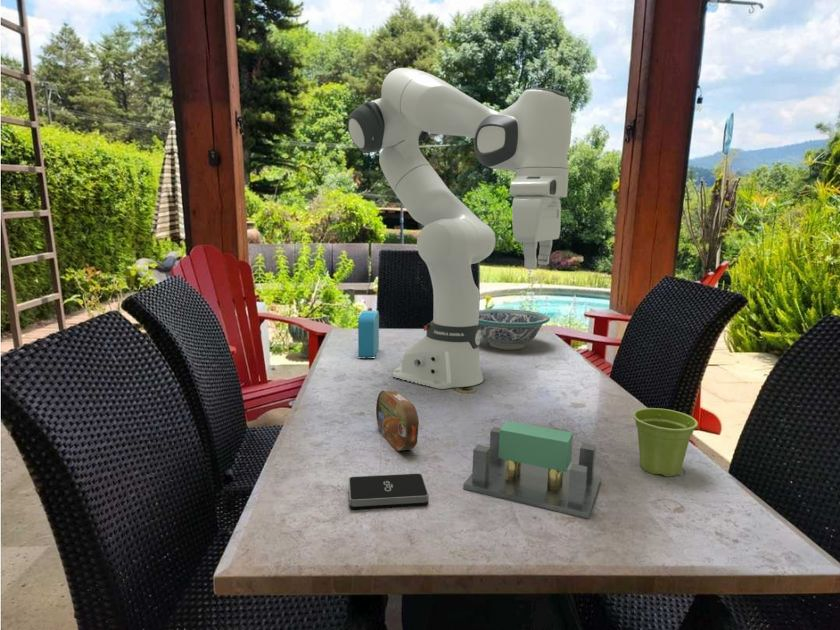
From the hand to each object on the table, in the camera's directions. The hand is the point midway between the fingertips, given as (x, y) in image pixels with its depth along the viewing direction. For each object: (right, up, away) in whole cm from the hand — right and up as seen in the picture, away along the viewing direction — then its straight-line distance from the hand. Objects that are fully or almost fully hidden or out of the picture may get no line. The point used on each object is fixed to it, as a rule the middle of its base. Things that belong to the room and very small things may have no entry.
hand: (537, 266), depth 98 cm
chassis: (-4, -34, -15) cm, 37 cm away
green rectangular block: (-4, -30, -15) cm, 34 cm away
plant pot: (+18, -34, -8) cm, 39 cm away
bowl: (+6, -18, +75) cm, 77 cm away
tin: (-25, -31, +1) cm, 40 cm away
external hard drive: (-26, -35, -19) cm, 47 cm away
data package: (-36, -20, +61) cm, 74 cm away
